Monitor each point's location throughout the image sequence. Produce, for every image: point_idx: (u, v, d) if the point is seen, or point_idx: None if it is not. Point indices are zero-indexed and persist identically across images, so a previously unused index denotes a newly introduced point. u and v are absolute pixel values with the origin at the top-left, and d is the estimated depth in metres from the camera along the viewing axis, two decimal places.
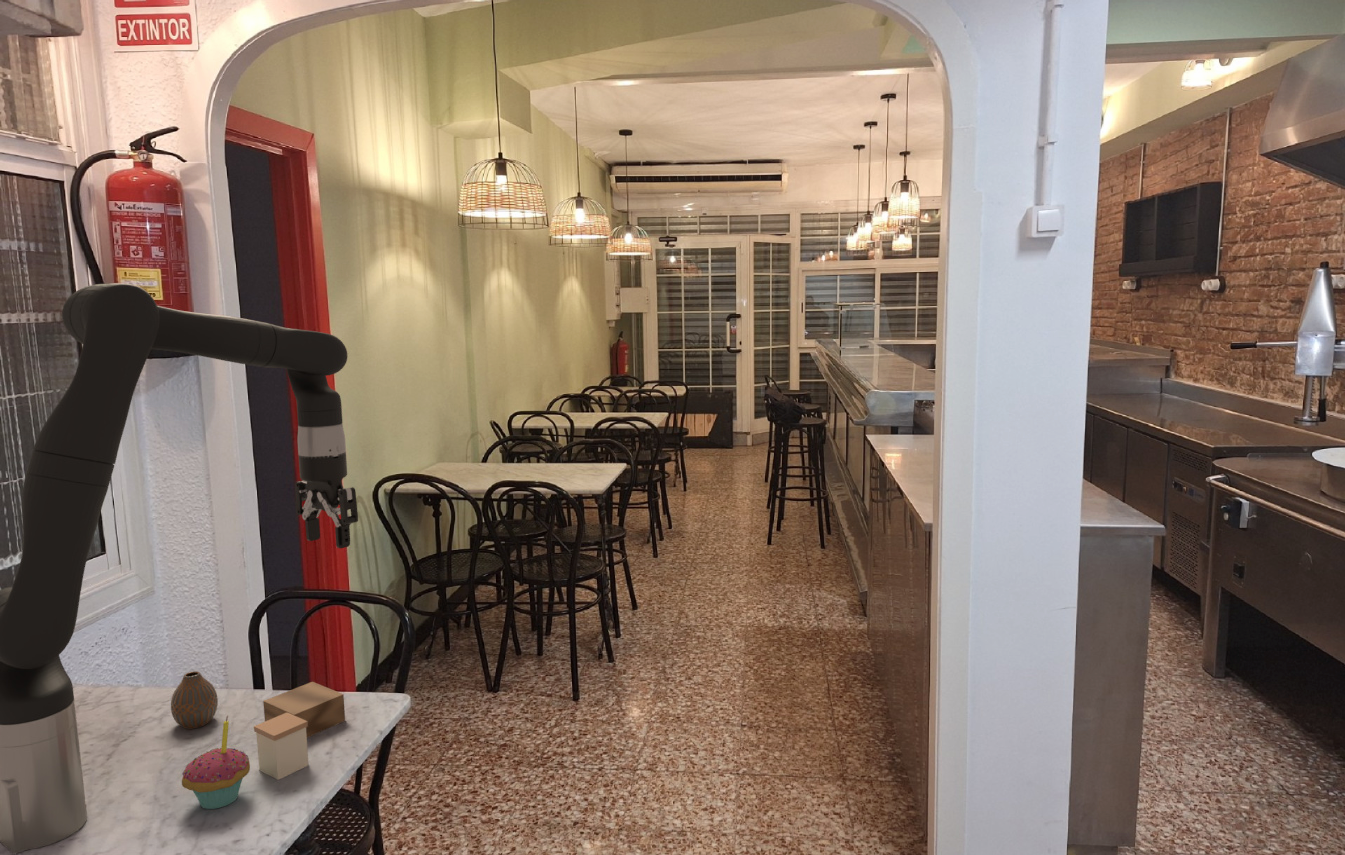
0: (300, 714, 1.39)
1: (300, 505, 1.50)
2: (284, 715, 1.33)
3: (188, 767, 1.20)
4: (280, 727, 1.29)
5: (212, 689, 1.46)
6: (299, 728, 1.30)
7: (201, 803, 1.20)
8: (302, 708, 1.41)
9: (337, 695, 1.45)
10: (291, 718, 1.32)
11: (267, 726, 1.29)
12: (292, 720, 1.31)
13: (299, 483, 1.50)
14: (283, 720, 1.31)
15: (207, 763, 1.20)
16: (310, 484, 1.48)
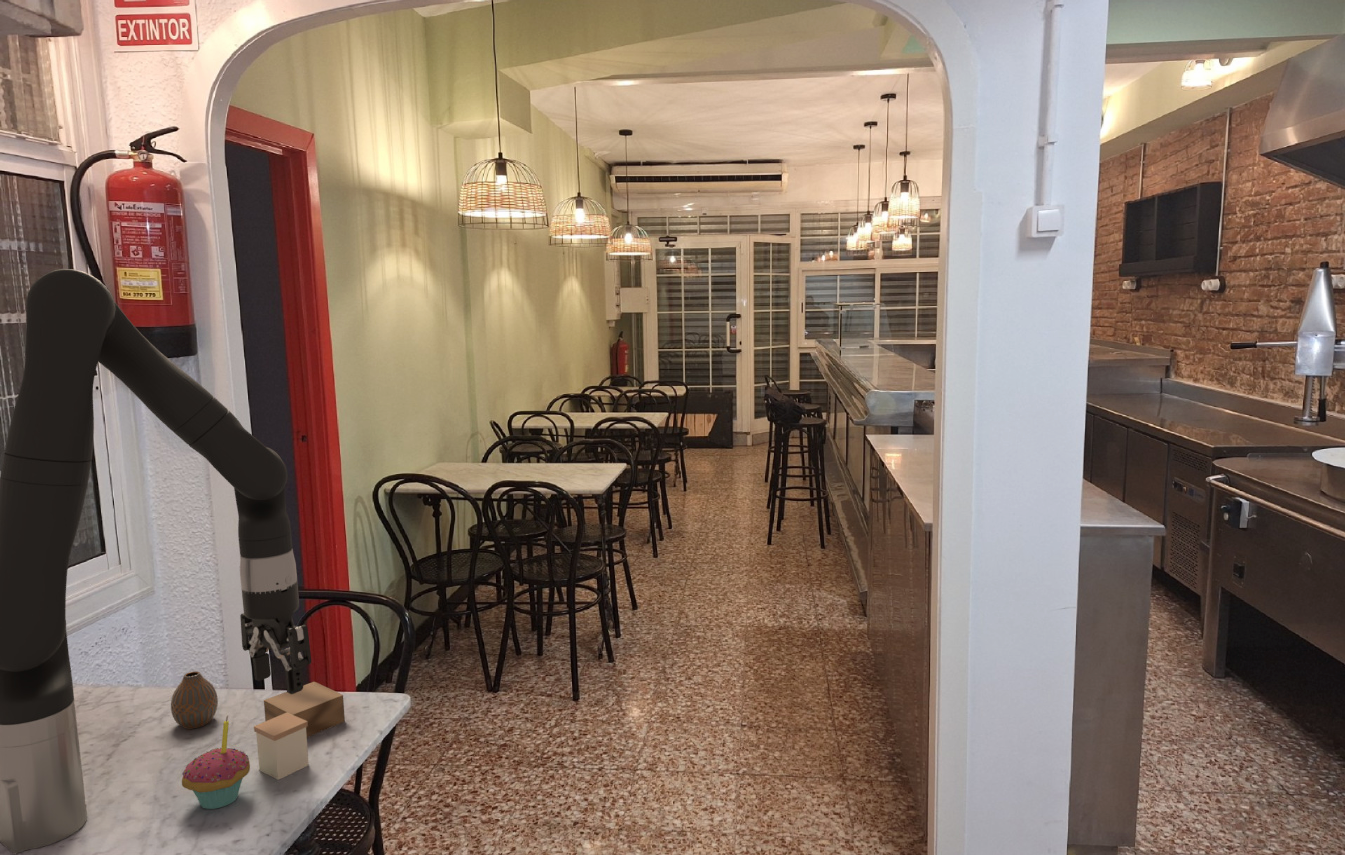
0: (299, 714, 1.39)
1: (247, 640, 1.31)
2: (284, 715, 1.33)
3: (188, 767, 1.20)
4: (280, 727, 1.29)
5: (212, 689, 1.46)
6: (299, 728, 1.30)
7: (201, 803, 1.20)
8: (300, 708, 1.40)
9: (337, 696, 1.45)
10: (291, 718, 1.32)
11: (267, 726, 1.29)
12: (292, 720, 1.31)
13: (245, 615, 1.31)
14: (283, 720, 1.31)
15: (207, 763, 1.20)
16: None
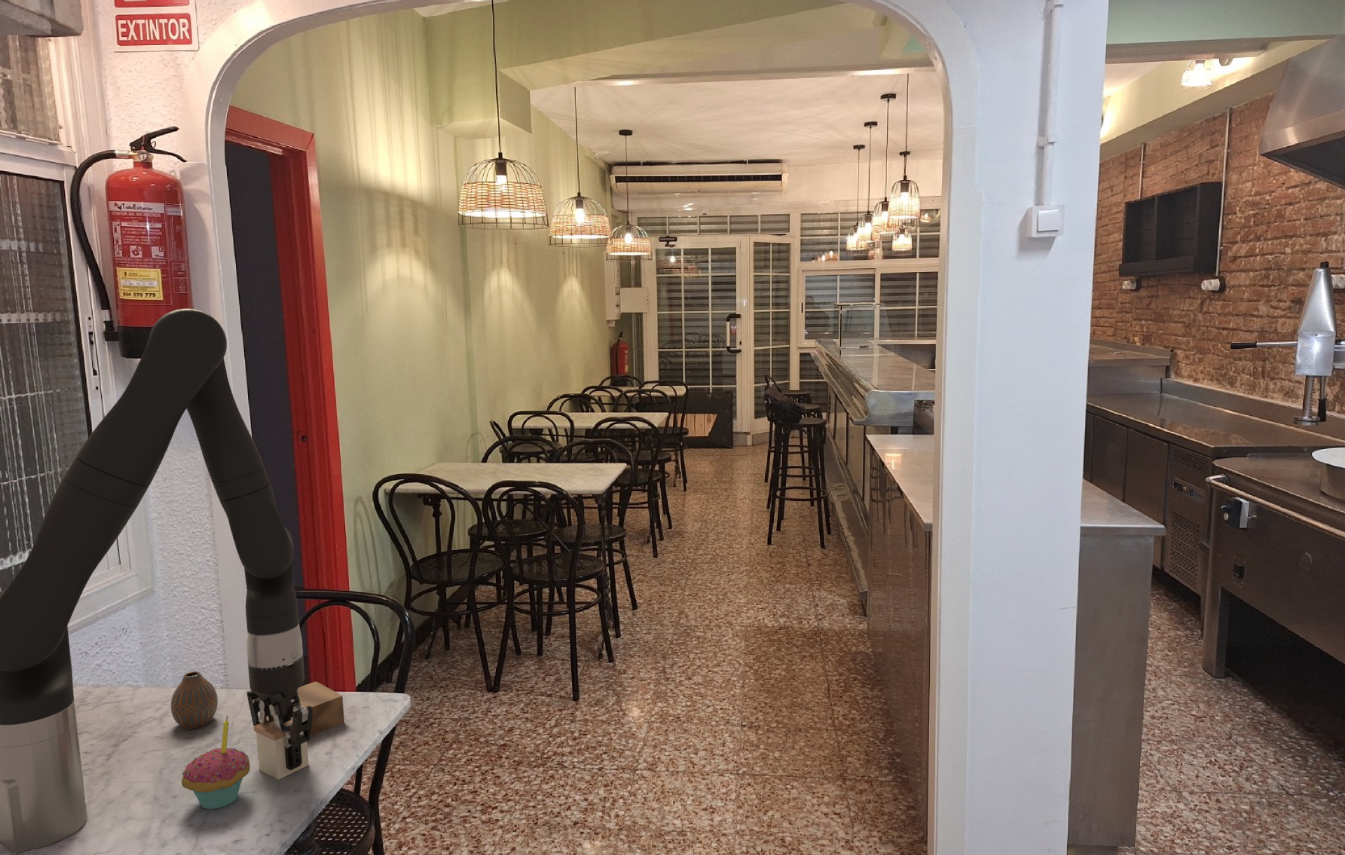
0: None
1: (256, 717, 1.32)
2: None
3: (188, 767, 1.20)
4: None
5: (212, 689, 1.46)
6: None
7: (201, 803, 1.20)
8: None
9: (336, 696, 1.44)
10: None
11: (267, 726, 1.29)
12: (292, 720, 1.31)
13: (251, 692, 1.32)
14: None
15: (207, 763, 1.20)
16: None
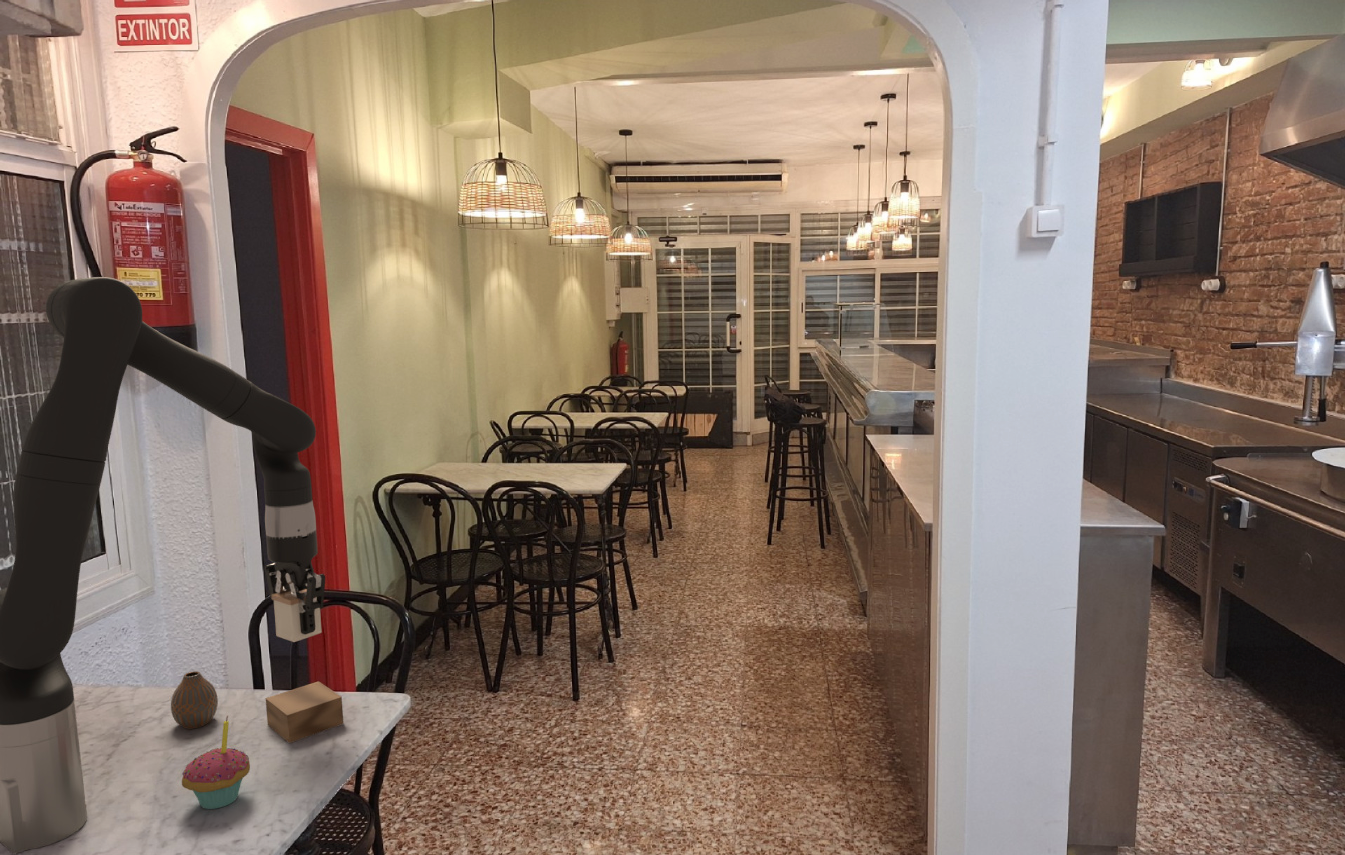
0: (294, 715, 1.39)
1: (273, 589, 1.44)
2: None
3: (188, 767, 1.20)
4: None
5: (212, 689, 1.46)
6: None
7: (201, 803, 1.20)
8: (297, 708, 1.40)
9: (335, 697, 1.44)
10: (305, 589, 1.44)
11: (284, 594, 1.41)
12: (306, 590, 1.43)
13: (268, 566, 1.44)
14: None
15: (207, 763, 1.20)
16: None
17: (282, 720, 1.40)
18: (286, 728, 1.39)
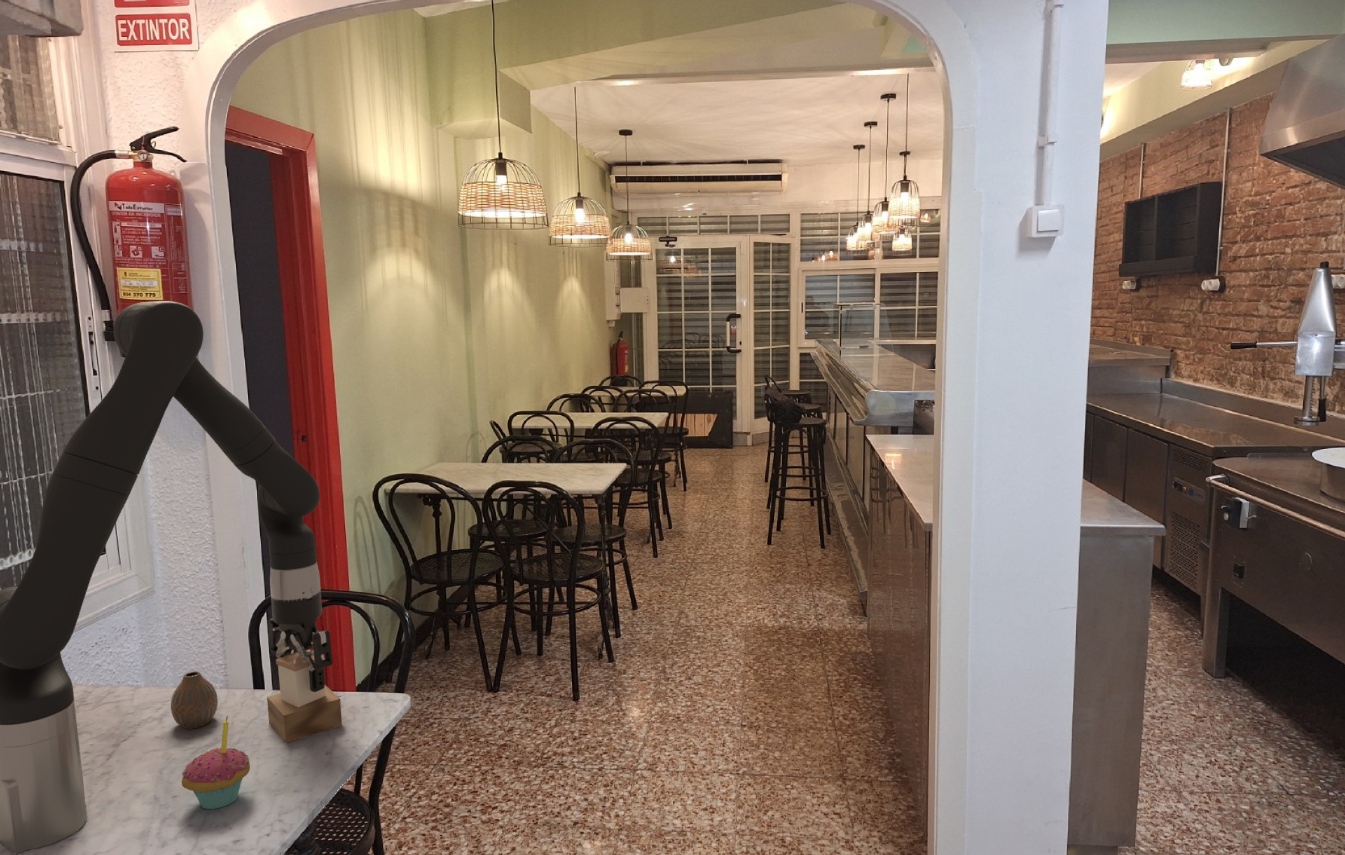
0: (291, 715, 1.39)
1: (274, 643, 1.46)
2: None
3: (188, 767, 1.20)
4: (300, 660, 1.42)
5: (212, 689, 1.46)
6: None
7: (201, 803, 1.20)
8: (295, 709, 1.40)
9: (334, 699, 1.44)
10: None
11: (288, 659, 1.42)
12: None
13: (273, 621, 1.45)
14: None
15: (207, 763, 1.20)
16: None
17: (280, 720, 1.40)
18: (283, 728, 1.39)
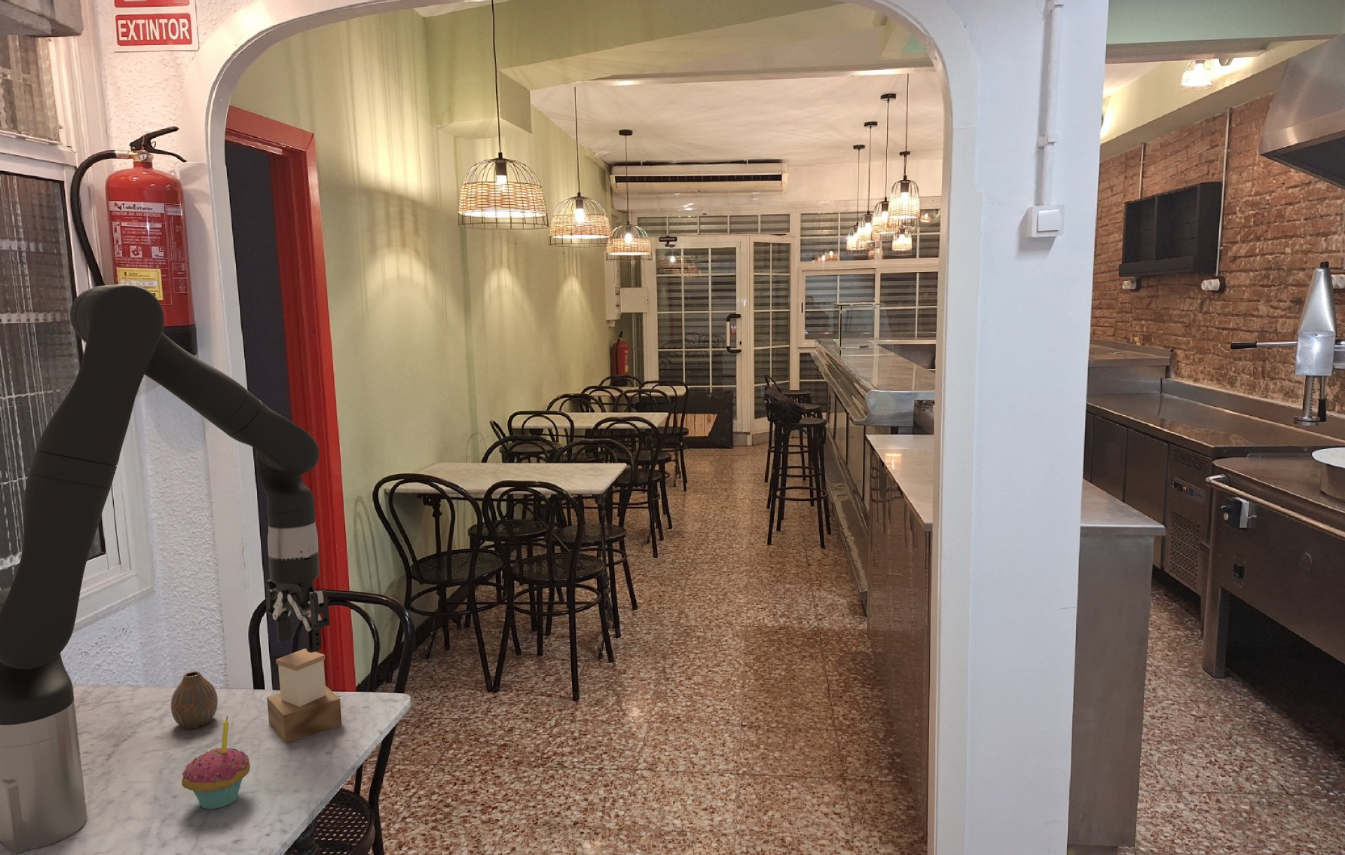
0: (291, 715, 1.39)
1: (271, 604, 1.45)
2: (303, 650, 1.46)
3: (188, 767, 1.20)
4: (300, 659, 1.42)
5: (212, 689, 1.46)
6: (318, 660, 1.43)
7: (201, 803, 1.20)
8: (295, 708, 1.40)
9: (334, 699, 1.44)
10: (309, 653, 1.45)
11: (288, 659, 1.43)
12: (311, 654, 1.45)
13: (270, 582, 1.44)
14: (302, 654, 1.45)
15: (207, 763, 1.20)
16: (281, 584, 1.42)
17: (280, 720, 1.40)
18: (283, 728, 1.39)
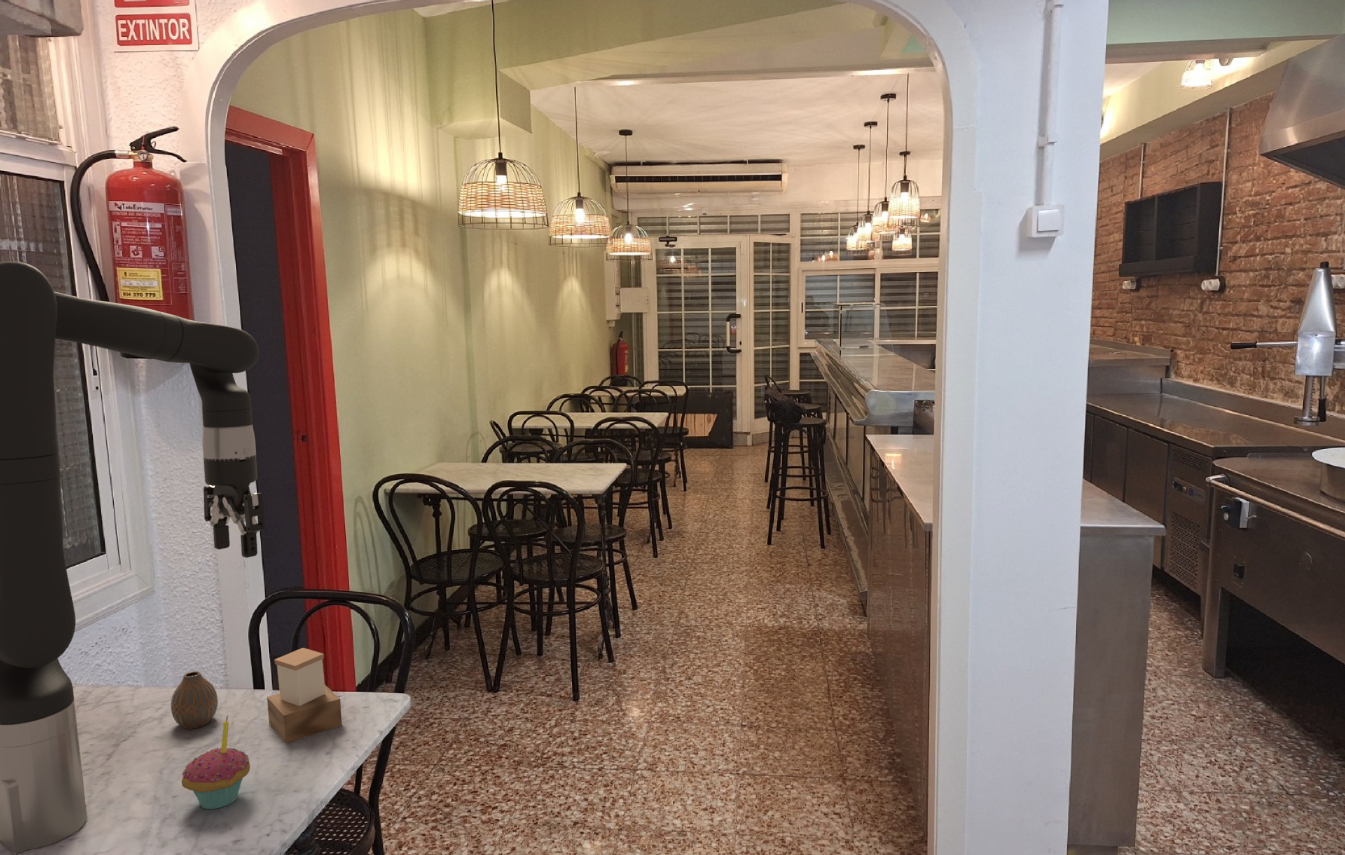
0: (291, 715, 1.39)
1: (208, 511, 1.41)
2: (301, 650, 1.46)
3: (188, 767, 1.20)
4: (299, 659, 1.42)
5: (212, 689, 1.46)
6: (316, 660, 1.43)
7: (201, 803, 1.20)
8: (295, 709, 1.40)
9: (334, 699, 1.44)
10: (307, 652, 1.45)
11: (287, 659, 1.43)
12: (309, 653, 1.45)
13: (207, 487, 1.41)
14: (301, 654, 1.45)
15: (207, 763, 1.20)
16: (217, 489, 1.39)
17: (280, 720, 1.40)
18: (283, 728, 1.39)
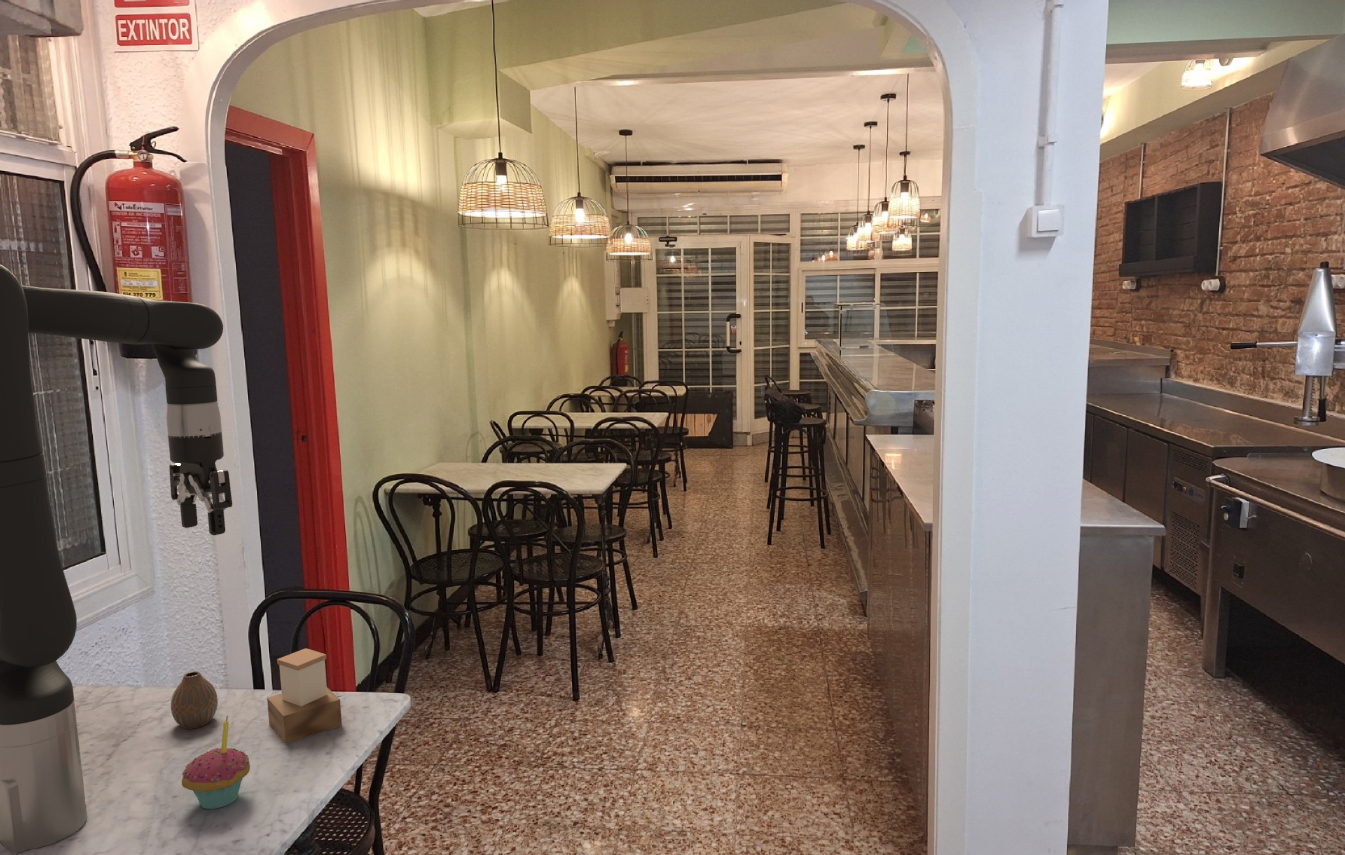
0: (291, 716, 1.39)
1: (175, 490, 1.40)
2: (303, 650, 1.46)
3: (188, 767, 1.20)
4: (302, 659, 1.42)
5: (212, 689, 1.46)
6: (319, 660, 1.43)
7: (201, 803, 1.20)
8: (295, 709, 1.40)
9: (334, 700, 1.43)
10: (310, 652, 1.45)
11: (289, 659, 1.43)
12: (312, 654, 1.45)
13: (173, 466, 1.40)
14: (303, 654, 1.45)
15: (207, 763, 1.20)
16: (183, 467, 1.38)
17: (279, 721, 1.40)
18: (282, 729, 1.39)
